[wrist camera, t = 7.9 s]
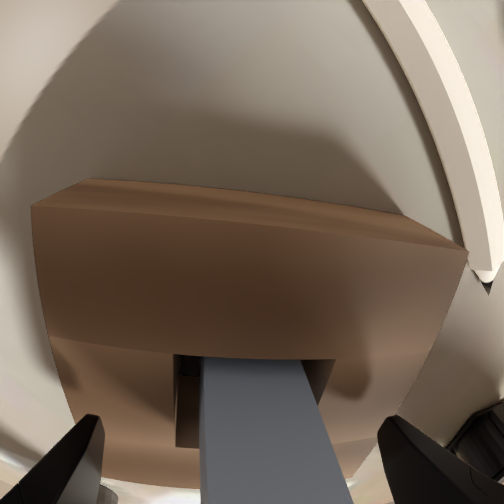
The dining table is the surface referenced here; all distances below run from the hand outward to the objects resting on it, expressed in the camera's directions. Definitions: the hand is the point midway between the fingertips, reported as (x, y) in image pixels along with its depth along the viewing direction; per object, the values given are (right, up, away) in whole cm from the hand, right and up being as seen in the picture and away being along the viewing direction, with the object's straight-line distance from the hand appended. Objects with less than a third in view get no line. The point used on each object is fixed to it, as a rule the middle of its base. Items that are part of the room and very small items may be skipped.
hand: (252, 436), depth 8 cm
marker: (+8, +10, +3) cm, 13 cm away
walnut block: (-1, +2, +5) cm, 5 cm away
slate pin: (-1, +2, +5) cm, 5 cm away
